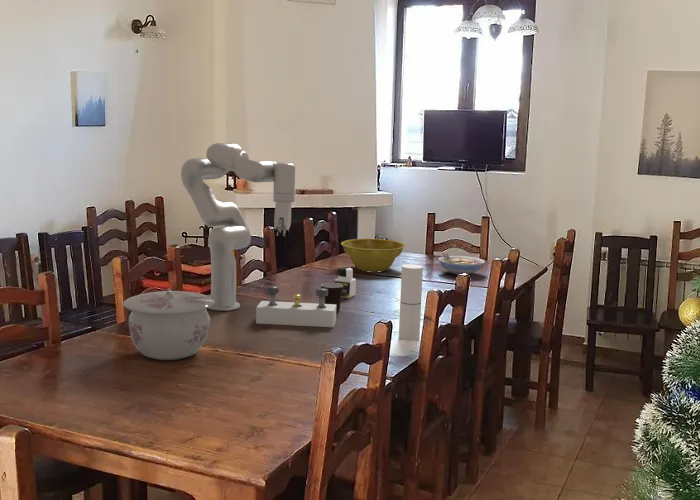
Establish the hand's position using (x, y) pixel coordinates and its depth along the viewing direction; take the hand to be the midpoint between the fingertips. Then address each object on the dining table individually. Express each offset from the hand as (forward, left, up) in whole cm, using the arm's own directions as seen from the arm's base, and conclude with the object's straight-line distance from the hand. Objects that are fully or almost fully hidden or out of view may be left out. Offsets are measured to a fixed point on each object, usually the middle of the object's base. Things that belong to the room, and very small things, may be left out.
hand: (282, 244), depth 274 cm
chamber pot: (-27, -45, -28) cm, 60 cm away
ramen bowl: (+73, +105, -28) cm, 131 cm away
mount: (+6, 0, -28) cm, 29 cm away
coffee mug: (+17, +21, -28) cm, 39 cm away
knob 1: (-3, 0, -22) cm, 22 cm away
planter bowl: (+29, +106, -28) cm, 113 cm away
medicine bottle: (+20, +46, -28) cm, 57 cm away
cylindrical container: (+47, -13, -28) cm, 56 cm away
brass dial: (+6, 0, -22) cm, 23 cm away
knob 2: (+15, 0, -22) cm, 27 cm away
